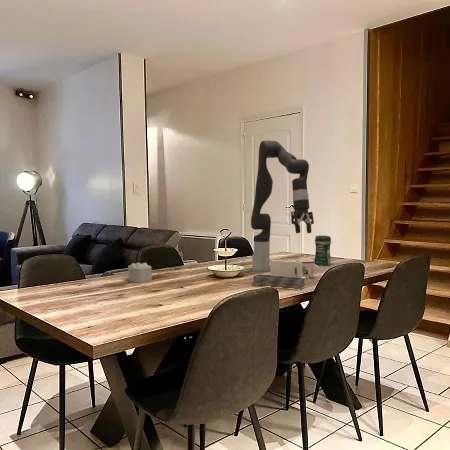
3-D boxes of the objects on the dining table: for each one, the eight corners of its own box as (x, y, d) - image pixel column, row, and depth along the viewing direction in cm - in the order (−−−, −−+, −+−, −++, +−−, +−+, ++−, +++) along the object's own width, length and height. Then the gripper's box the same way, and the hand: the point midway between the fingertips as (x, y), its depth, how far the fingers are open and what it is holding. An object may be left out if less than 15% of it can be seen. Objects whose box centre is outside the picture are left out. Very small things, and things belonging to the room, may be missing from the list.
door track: (252, 285, 219) (252, 276, 219) (259, 282, 227) (259, 273, 227) (299, 290, 208) (299, 281, 208) (305, 286, 216) (305, 277, 216)
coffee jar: (312, 264, 281) (312, 235, 280) (319, 263, 287) (319, 234, 285) (326, 266, 274) (326, 236, 273) (332, 265, 280) (333, 235, 279)
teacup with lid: (293, 277, 241) (293, 255, 241) (302, 274, 248) (302, 253, 247) (313, 279, 234) (313, 257, 233) (321, 277, 240) (322, 255, 240)
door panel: (270, 281, 230) (270, 260, 229) (272, 280, 232) (272, 259, 231) (300, 284, 222) (300, 262, 222) (302, 283, 225) (302, 261, 224)
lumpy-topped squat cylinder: (137, 282, 228) (136, 266, 227) (123, 279, 237) (123, 263, 236) (154, 280, 235) (153, 263, 234) (140, 276, 244) (140, 261, 243)
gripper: (303, 201, 225) (306, 233, 223) (285, 200, 215) (288, 233, 213) (316, 199, 219) (319, 232, 217) (297, 197, 209) (300, 232, 208)
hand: (303, 233), depth 215 cm, fingers open, 8 cm apart
